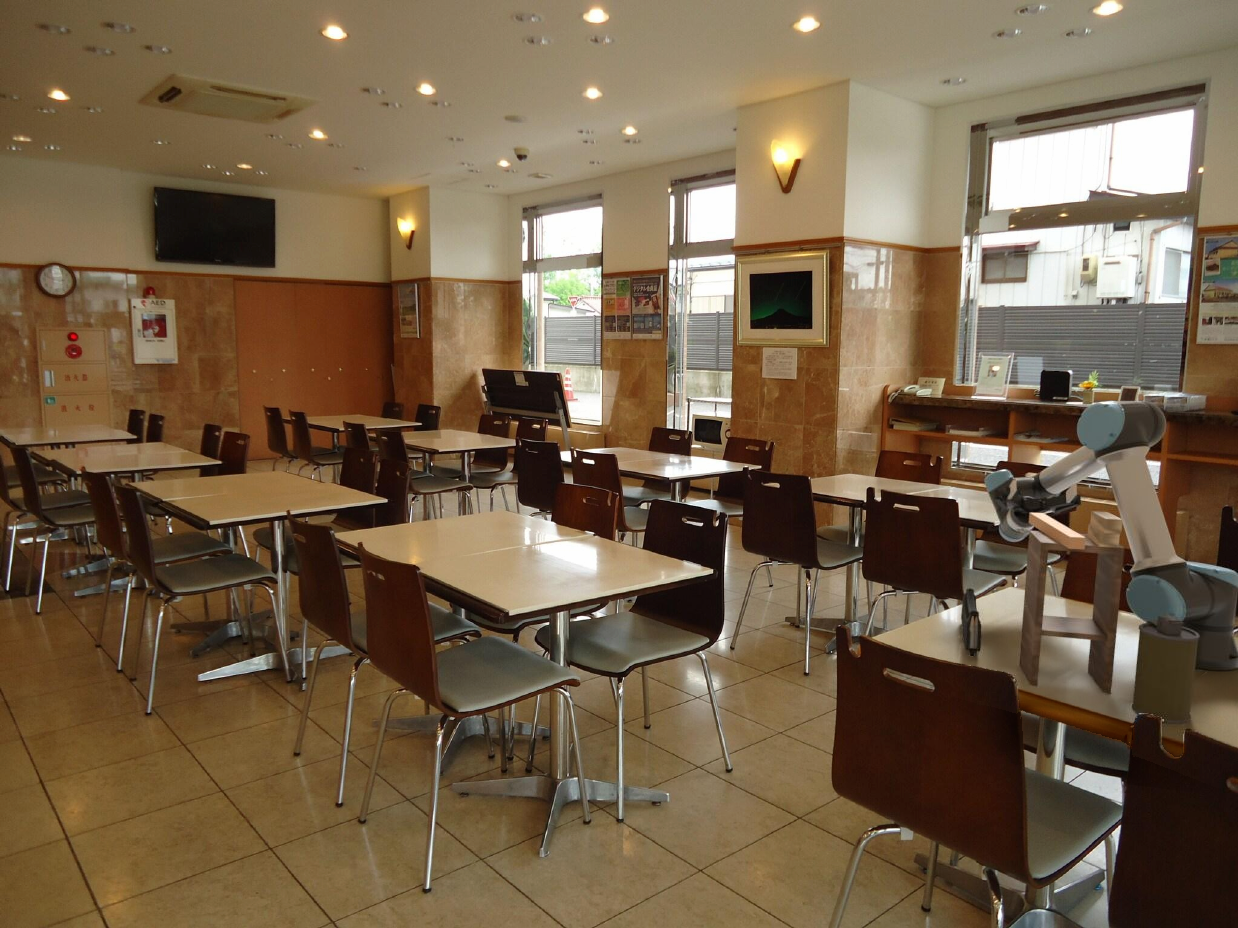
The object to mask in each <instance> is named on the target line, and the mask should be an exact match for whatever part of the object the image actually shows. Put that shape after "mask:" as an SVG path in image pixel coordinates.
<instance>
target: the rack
mask: <svg viewBox="0 0 1238 928" xmlns="http://www.w3.org/2000/svg"><path fill="white" fill-rule="evenodd" d="M1122 529H1123V522H1122V519H1121V517H1118V516H1116V515H1114V514H1112V513H1111V512H1109V511H1096V510H1095V511H1093V510H1092V511H1091V512H1090V523H1088V527H1087V533H1079V534H1080V535H1082V536H1084V537H1085V549H1069V548H1067V547H1066V546H1064V545H1062V544H1061V543H1059V542H1058V541H1056V540H1055V539H1053V538H1052V537H1050V536H1048V535H1047V534H1045V533H1044V532H1042V531H1041V530H1031V531H1029V535H1028V544H1027V558H1026V571H1025V572H1026V573H1025V583H1024V584H1025V585H1024V586H1025V587H1024V599H1023V610H1022V611H1023V612H1022V613H1023V614H1022V622H1021V623H1022V624H1021V637H1020V651H1019V652H1020V653H1019V664H1018V665H1019V667H1020V670H1021V672H1022V674H1023V675H1024V677H1025V680H1026V681H1027V683H1028V685H1029V687H1038V685H1039V683H1038V682H1039V672H1040V671H1039V670H1040V659H1041V657H1040V656H1041V647H1042V646H1041V645H1042V636H1044V637H1055V638H1065V639H1066V638H1067V639H1078V640H1089V642H1090V643H1089V651H1088V652H1089V653H1088V654H1089V655H1088V664H1087V673H1088V674H1089V676H1090V677H1091V678H1092V680H1093V681H1094V683H1095V684H1096V686H1097V687H1098V689H1099V690H1100V691H1101V692H1102V693H1103V694H1107V695H1108V694H1109V695H1111V694H1112V685H1113V676H1114V675H1113V673H1114V665H1115V652H1116V651H1115V650H1116V643H1117V630H1118V622H1119V621H1118V619H1119V610H1120V609H1119V608H1120V598H1121V597H1120V596H1121V588H1122V578H1123V565H1124V555H1125V553H1124V552H1125V546H1122V545H1121V544H1120V536H1121V534H1122ZM1049 551H1060V552H1062V551H1063V552H1075V553H1076V552H1078V553H1089V554H1090V553H1091V554H1097V559H1096V560H1097V561H1096V573H1095V574H1096V575H1095V585H1094V595H1093V608H1092V617H1091V619H1090V618H1081V617H1069V616H1057V615H1056V616H1055V615H1045V614H1044V610H1045V609H1044V608H1045V597H1046V583H1047V582H1046V581H1047V571H1048V570H1047V569H1048V560H1049Z"/></svg>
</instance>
